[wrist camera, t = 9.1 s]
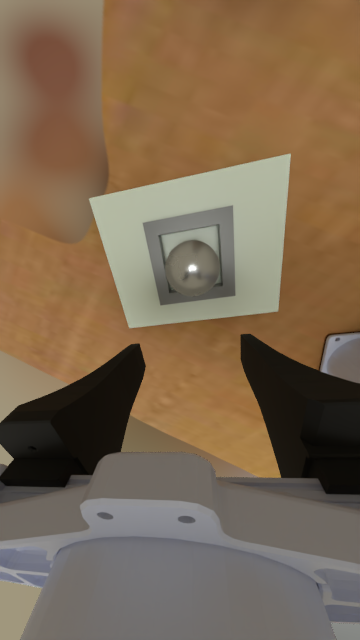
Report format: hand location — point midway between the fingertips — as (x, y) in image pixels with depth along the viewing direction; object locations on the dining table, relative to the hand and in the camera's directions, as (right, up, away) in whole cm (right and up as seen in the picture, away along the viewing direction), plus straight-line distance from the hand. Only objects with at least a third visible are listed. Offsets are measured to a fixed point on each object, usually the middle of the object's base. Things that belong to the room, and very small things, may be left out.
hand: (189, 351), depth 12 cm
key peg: (+1, +8, +6) cm, 10 cm away
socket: (+1, +9, +6) cm, 11 cm away
